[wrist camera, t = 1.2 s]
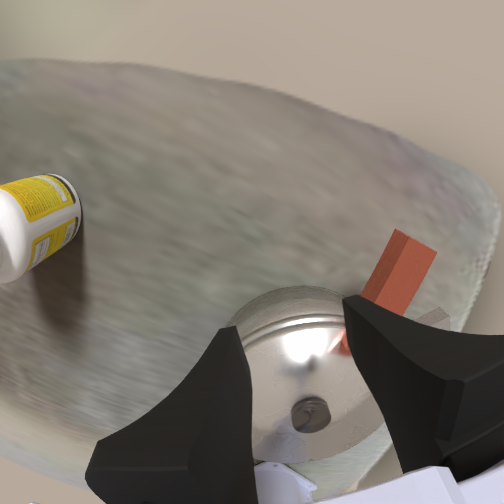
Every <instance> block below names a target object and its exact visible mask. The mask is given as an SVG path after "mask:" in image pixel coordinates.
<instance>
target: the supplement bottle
mask: <svg viewBox="0 0 504 504" xmlns="http://www.w3.org/2000/svg"><path fill="white" fill-rule="evenodd" d="M80 221H81V206H80V201H79V198H78V196H77V193H76V191H75V190H74V188H73V187H72V185H71V184H70V183H69V182H68V181H67V180H66V179H64V178H63V177H61V176H58V175H55V174H43V175H39V176H34V177H30V178H26V179H22V180H18V181H14V182H11V183H7V184H4V185H0V283H9V282H12V281H14V280H16V279H17V278H19V277H20V276H22V275H23V274H24V273H26V272H27V271H29V270H30V269H31V268H33V267H34V266H36V265H37V264H38V263H40V262H41V261H43V260H44V259H46V258H47V257H49V256H50V255H52V254H53V253H54V252H56V251H57V250H59V249H60V248H62V247H64V246H65V245H66V244H67V243H69V242H70V241H71V240H72V239H73V238H74V236H75V235H76V233H77V231H78V229H79V226H80Z"/></svg>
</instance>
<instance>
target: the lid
mask: <svg viewBox="0 0 504 504" xmlns="http://www.w3.org/2000/svg"><path fill="white" fill-rule="evenodd" d="M436 254H437V252H436V251H434V250H432V249H431V248H429V247H428V246H426V245H424V244H423V243H421V242H419V241H417V240H416V239H414V238H412V237H410V236H408V235H406V234H404V233H403V232H401V231H399V230H397V229H395V230H394V232H393V234H392V236H391V238H390V240H389V242H388V244H387V246H386V248H385V250H384V252H383V254H382V256H381V258H380V260H379V262H378V264H377V266H376V267H375V269H374V271H373V273H372V275H371V277H370V279H369V281H368V282H367V284H366V286H365V288H364V290H363V291H362V293H361V295H360V296H362V297H364V298H366V299H368V300H370V301H371V302H373V303H375V304H377V305H379V306H381V307H383V308H385V309H387V310H389V311H391V312H394V313H396V314H398V315H400V316H402V315H403V314H404V312H405V310H406V309H407V307H408V305H409V304H410V302H411V300H412V298H413V297H414V295H415V293H416V291H417V290H418V288H419V286H420V284H421V282H422V281H423V279H424V277H425V275H426V273H427V271H428V269H429V268H430V266H431V264H432V262H433V260H434V258H435V256H436ZM243 349H244V352H245V355H246V358H247V361H248V364H249V367H250V372H251V380H252V389H253V401H252V453H253V458H255V459H258V460H262V461H267V462H274V463H303V462H310V461H315V460H320V459H324V458H327V457H330V456H333V455H336V454H338V453H341V452H343V451H345V450H347V449H349V448H351V447H353V446H355V445H356V444H358V443H360V442H361V441H363V440H364V439H366V438H367V437H368V436H370V435H371V434H372V433H373V432H374V431H375V430H376V429H377V428H378V427H379V426H380V425H381V424H382V423H383V422H384V421H385V420H384V417H383V415H382V413H381V410H380V408H379V406H378V404H377V403H376V401H375V399H374V397H373V395H372V394H371V392H370V390H369V388H368V386H367V385H366V383H365V381H364V379H363V377H362V375H361V374H360V372H359V370H358V368H357V366H356V364H355V362H354V359H353V357H352V354H351V352H350V349H349V346H348V344H347V336H346V327H345V323H341V322H334V321H315V322H305V323H299V324H294V325H289V326H286V327H283V328H280V329H276V330H274V331H271V332H269V333H267V334H264V335H262V336H260V337H258V338H256V339H255V340H253V341H251V342H249V343H248V344H246V345H245V346H244V347H243Z"/></svg>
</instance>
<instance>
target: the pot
mask: <svg viewBox="0 0 504 504" xmlns="http://www.w3.org/2000/svg"><path fill="white" fill-rule="evenodd" d="M343 298H346V297H344V296H343V295H341V294H339V293H337V292H335V291H332V290H329V289H325V288H321V287H315V286H292V287H286V288H281V289H277V290H274V291H271V292H268V293H266V294H264V295H261V296H259V297H257V298H256V299H254V300H252V301H251V302H249V303H248V304H246V305H245V306H244V307H242V308H241V309H240V310H239V311H238V312H237V313H236V314H235V315H234V316H233V317H232V319H231V320H230V321H229V322H228V324H227V325H226V327H231V326H235V325H236V327H237V330H238V334H239V337H240V340H241V343H242V346H243V347H244V346H245V345H246V344H248V343H249V342H251V341H253V340H255V339H256V338H258V337H260V336H262V335H264V334H267V333H269V332H271V331H274V330H276V329H280V328H283V327H286V326H289V325H294V324H299V323H305V322H315V321H334V322H341V323H345V320H344V312H343V305H342V299H343ZM413 321H415V322H418V323H421V324H424V325H428V326H431V327H435V328H439V329H443V330H448V331H450V317H449V315H448V314H447V313H446V312H445V311H444V310H442V309H441V308H440V307H439V308H437V309H435V310H433V311H431V312H429V313H427V314H425V315H423V316H421V317H419V318H417V319H415V320H413ZM226 327H225V328H226Z"/></svg>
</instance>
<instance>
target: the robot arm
mask: <svg viewBox="0 0 504 504" xmlns="http://www.w3.org/2000/svg"><path fill="white" fill-rule="evenodd" d="M342 305H343V312H344V320H345V327H346V336H347V344H348V346H349V349H350V352H351V354H352V357H353V359H354V362H355V364H356V366H357V368H358V370H359V372H360V374H361V375H362V377H363V379H364V381H365V383H366V385H367V386H368V388H369V390H370V392H371V394H372V395H373V397H374V399H375V401H376V403H377V404H378V406H379V408H380V410H381V413H382V415H383V417H384V420H385V422H386V425H387V427H388V430H389V433H390V435H391V438H392V441H393V444H394V447H395V450H396V452H397V455H398V459H399V462H400V465H401V468H402V471H403V475H400V476H397V477H395V478H392V479H389V480H386V481H383V482H380V483H377V484H374V485H371V486H368V487H365V488H361V489H358V490H355V491H351V492H348V493H344V494H340V495H337V496H333V497H329V498H324V499H320V500H316V501H313V498H312V493H311V491H314V490H316V489H317V488H318V487H317V485H316V484H314V483H313V482H311V481H309V480H308V479H306V478H304V477H303V476H301V475H300V474H298V473H296V472H295V471H293V470H292V469H290V468H289V467H287V466H286V465H284V464H283V463H274V462H267V461H265V462H263V463H261V464H258V465H256V466H254V463H253V453H252V401H253V389H252V380H251V372H250V367H249V364H248V361H247V358H246V355H245V352H244V349H243V346H242V343H241V340H240V337H239V334H238V330H237V327H236V325H235V326H231V327H226V328H221V329H219V331H218V332H217V334H216V335H215V337H214V338H213V340H212V341H211V343H210V344H209V346H208V348H207V349H206V351H205V352H204V354H203V355H202V356H201V358H200V359H199V361H198V362H197V363H196V365H195V366H194V367H193V369H192V370H191V371H190V372H189V374H188V375H187V376H186V377H185V379H184V380H183V381H182V382H181V383H180V384H179V385H178V386H177V387H176V388H175V389H174V390H173V391H172V392H171V393H170V394H169V395H168V396H167V397H166V398H165V399H164V400H162V401H161V402H160V403H159V404H158V405H156V406H155V407H154V408H153V409H151V410H150V411H149V412H148V413H146V414H145V415H143V416H142V417H141V418H139V419H138V420H136V421H134V422H133V423H131V424H130V425H128V426H126V427H125V428H123V429H121V430H119V431H117V432H115V433H113V434H111V435H110V436H108V437H106V438H104V439H101V440H99V441H98V442H97V444H96V447H95V449H94V452H93V454H92V457H91V459H90V462H89V465H88V467H87V470H86V473H85V480H86V482H87V484H88V486H89V487H90V489H91V490H92V491H93V492H94V493H95V494H96V495H97V496H98V497H99V498H100V499H102V500H103V501H104V502H105V503H106V504H504V335H477V334H467V333H459V332H454V331H448V330H443V329H439V328H435V327H431V326H428V325H424V324H421V323H418V322H415V321H413V320H410V319H408V318H405V317H403V316H400V315H398V314H396V313H394V312H391V311H389V310H387V309H385V308H383V307H381V306H379V305H377V304H375V303H373V302H371V301H370V300H368V299H366V298H364V297H362V296H360V295H354V296H351V297H347V298H343V299H342ZM30 504H38V503H34V502H30Z"/></svg>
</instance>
